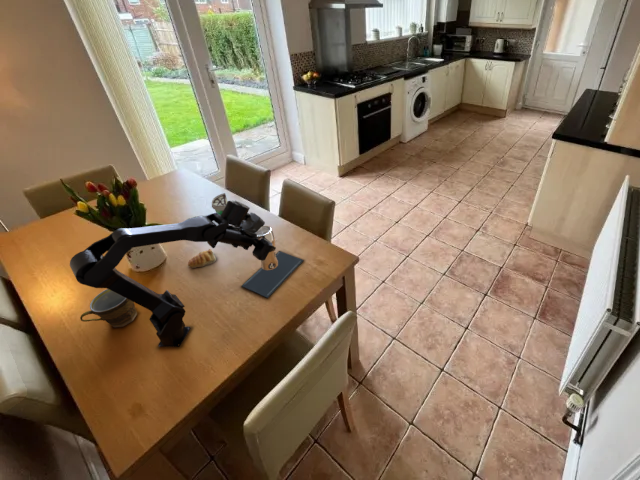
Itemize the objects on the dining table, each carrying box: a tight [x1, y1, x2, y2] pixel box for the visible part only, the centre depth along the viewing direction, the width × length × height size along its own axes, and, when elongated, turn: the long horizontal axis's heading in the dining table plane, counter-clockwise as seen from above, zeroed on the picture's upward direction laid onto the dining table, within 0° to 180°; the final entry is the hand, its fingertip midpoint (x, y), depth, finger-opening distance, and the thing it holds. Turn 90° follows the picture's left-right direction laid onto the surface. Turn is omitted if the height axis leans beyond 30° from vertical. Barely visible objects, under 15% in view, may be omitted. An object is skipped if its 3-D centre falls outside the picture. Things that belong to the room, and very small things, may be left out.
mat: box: [241, 250, 304, 299], centre depth 118 cm, size 20×12×1 cm, turn 155°
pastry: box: [187, 248, 217, 269], centre depth 122 cm, size 9×7×4 cm
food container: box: [211, 192, 229, 215], centre depth 144 cm, size 12×6×10 cm, turn 25°
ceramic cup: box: [79, 288, 138, 328], centre depth 98 cm, size 13×10×10 cm
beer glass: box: [255, 225, 279, 271], centre depth 111 cm, size 7×7×15 cm
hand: (269, 244), depth 112 cm, fingers closed on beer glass, 7 cm apart
